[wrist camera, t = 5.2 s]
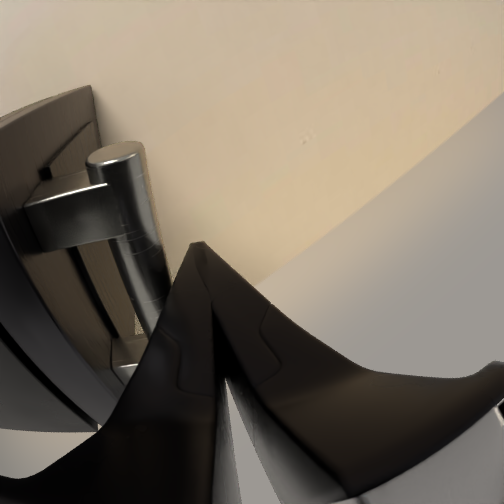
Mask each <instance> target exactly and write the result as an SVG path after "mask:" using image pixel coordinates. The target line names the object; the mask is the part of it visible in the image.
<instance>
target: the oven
mask: <svg viewBox="0 0 504 504" xmlns="http://www.w3.org/2000/svg"><path fill="white" fill-rule="evenodd" d="M52 97H53V96H52ZM49 98H51V97H49ZM49 98H46V99H49ZM46 99H43V100H41V101H38V102H36V103H33V104H30V105H28V106H25V107H23V108H21V109H18V110H16V111H14V112H11V113H9V114H7V115H5V116H2V117H0V122H2V121H4V120H5V119H7V118H9V117H11V116H13V115H15V114H17V113H19V112H21V111H23V110H25V109H27V108H29V107H31V106H33V105H35V104H37V103H40V102H42V101H44V100H46ZM0 428H3V429H12V430H23V431H24V430H25V431H38V432H39V431H40V432H97V431H98V423H97V422H96V421H94V420H93V419H92V418H91V417H90V416H88V415H87V414H86V413H85V412H84V411H83V410H81V409H80V408H79V407H78V406H77V405H76V404H75V403H74V402H72V401H71V400H70V399H69V398H68V397H67V396H66V395H65V394H64V393H63V392H62V391H61V390H60V389H59V388H58V387H57V386H56V385H55V384H53V383H52V382H51V380H50V379H49V378H48V377H47V376H46V375H45V374H44V373H43V372H42V371H41V370H40V369H39V368H38V367H37V366H36V365H35V364H34V363H33V361H32V360H31V359H30V358H29V357H28V356H27V355H26V354H25V352H24V351H23V350H22V349H21V348H20V347H19V345H18V344H17V343H16V342H15V341H14V339H13V338H12V337H11V336H10V334H9V333H8V332H7V331H6V329H5V328H4V327H3V325H2V324H1V323H0Z"/></svg>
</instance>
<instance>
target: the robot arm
mask: <svg viewBox="0 0 504 504" xmlns="http://www.w3.org/2000/svg"><path fill="white" fill-rule="evenodd" d="M225 379H226V381H227V384H228V386H229V389H230V391H231V394H232V396H233V399H234V401H235V404H236V406H237V409H238V411H239V413H240V416H241V418H242V421H243V423H244V425H245V427H246V430H247V432H248V434H249V437H250V439H251V441H252V443H253V446H254V447H255V450H256V453H257V455H258V457H259V459H260V461H261V463H262V466H263V468H264V469H265V472H266V474H267V476H268V478H269V480H270V482H271V484H272V486H273V489H274V491H275V493H276V494H277V497H278V499H279V501H280V503H281V504H504V400H503V401H502V402H501V403H500V404H499V405H498V406H497V404H498V403H499V402H500V401H501V400H502V399H503V398H504V362H500V361H492V362H491V363H489V364H488V365H487V366H485V367H484V368H483V369H481V370H480V371H479V372H477V373H475V374H473V375H470V376H467V377H462V378H435V377H423V376H412V375H401V374H392V373H383V372H376V371H373V370H369V369H366V368H364V367H362V366H360V365H357V364H356V363H354V362H352V361H350V360H349V359H347V358H346V357H344V356H343V355H341V354H340V353H338V352H337V351H335V350H333V349H332V348H331V347H329V346H327V345H326V344H324V343H323V342H321V341H320V340H318V339H316V338H315V337H314V336H312V335H311V334H309V333H308V332H307V331H305V330H304V329H303V328H301V327H300V326H298V325H297V324H296V323H294V322H293V321H292V320H291V319H289V318H288V317H287V316H286V315H284V314H283V313H282V312H281V311H280V310H279V309H278V308H276V307H275V306H274V305H273V304H271V302H270V301H268V300H267V299H266V298H265V297H264V296H263V295H262V294H261V293H260V292H258V291H257V290H256V289H255V288H254V287H253V286H252V285H251V284H250V283H248V282H247V281H246V280H245V279H244V278H243V277H242V276H241V275H240V274H238V273H237V272H236V271H235V270H234V269H233V268H232V267H231V266H230V265H229V264H227V263H226V262H225V261H224V260H223V259H222V258H221V257H220V256H219V255H218V254H217V253H215V252H214V251H213V250H212V249H211V248H210V247H209V246H208V245H207V244H206V243H205V242H204V241H201V242H196V243H191V244H190V245H189V249H188V251H187V253H186V255H185V257H184V260H183V262H182V264H181V266H180V269H179V271H178V273H177V275H176V278H175V280H174V282H173V285H172V287H171V289H170V291H169V294H168V296H167V298H166V301H165V303H164V306H163V308H162V310H161V313H160V315H159V318H158V320H157V322H156V326H155V327H154V329H153V332H152V334H151V337H150V339H149V342H148V344H147V346H146V348H145V351H144V353H143V355H142V357H141V359H140V361H139V363H138V365H137V367H136V369H135V371H134V372H133V374H132V376H131V378H130V380H129V382H128V383H127V385H126V387H125V389H124V391H123V393H122V395H121V396H120V398H119V400H118V402H117V404H116V406H115V408H114V410H113V412H112V413H111V415H110V417H109V418H108V420H107V421H106V423H105V424H104V425H103V426H102V427H101V428H100V429H99V430H98V431H97V432H96V433H95V434H94V435H92V436H91V437H90V438H88V439H87V440H86V441H84V442H83V443H81V444H80V445H79V446H77V447H76V448H74V449H73V450H71V451H70V452H69V453H67V454H66V455H65V456H63V457H61V458H60V459H59V460H57V461H56V462H54V463H53V464H51V465H50V466H48V467H47V468H45V469H44V470H43V471H41V472H39V473H37V474H35V475H32V476H30V477H27V478H21V479H14V478H9V477H5V476H1V475H0V504H242V503H241V496H240V490H239V483H238V476H237V469H236V462H235V455H234V448H233V440H232V433H231V425H230V417H229V408H228V400H227V391H226V382H225Z"/></svg>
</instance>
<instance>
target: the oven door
mask: <svg viewBox="0 0 504 504" xmlns="http://www.w3.org/2000/svg"><path fill="white" fill-rule="evenodd" d="M172 285H173V281H172V277H171V273H170V269H169V265H168V261H167V257H166V253H165V249H164V244H163V240H162V236H161V231H160V227H159V222H158V217H157V213H156V208H155V203H154V198H153V193H152V188H151V183H150V177H149V172H148V166H147V160H146V154H145V148H144V146H143V144H142V143H141V142H136V141H125V142H119V143H115V144H111V145H108V146H105V147H103V148H102V147H101V142H100V137H99V132H98V126H97V120H96V115H95V108H94V102H93V95H92V88H91V85H87V86H83V87H80V88H77V89H73V90H70V91H67V92H64V93H61V94H58V95H56V96H53V97H51V98H49V99H46V100H44V101H42V102H40V103H37V104H35V105H33V106H31V107H29V108H27V109H25V110H23V111H21V112H19V113H17V114H15V115H13V116H11V117H9V118H7V119H5V120H4V121H2V122H0V323H1V324H2V325H3V327H4V328H5V329H6V331H7V332H8V333H9V334H10V336H11V337H12V338H13V339H14V341H15V342H16V343H17V344H18V345H19V347H20V348H21V349H22V350H23V351H24V352H25V354H26V355H27V356H28V357H29V358H30V359H31V360H32V361H33V363H34V364H35V365H36V366H37V367H38V368H39V369H40V370H41V371H42V372H43V373H44V374H45V375H46V376H47V377H48V378H49V379H50V380H51V382H52V383H53V384H55V385H56V386H57V387H58V388H59V389H60V390H61V391H62V392H63V393H64V394H65V395H66V396H67V397H68V398H69V399H70V400H71V401H72V402H74V403H75V404H76V405H77V406H78V407H79V408H80V409H81V410H83V411H84V412H85V413H86V414H87V415H88V416H90V417H91V418H92V419H93V420H94V421H96V422H97V423H98V424H100V425H101V426H103V425H104V424H105V423H106V421H107V420H108V418H109V417H110V415H111V413H112V412H113V410H114V408H115V406H116V404H117V402H118V400H119V398H120V396H121V395H122V393H123V391H124V389H125V387H126V385H127V383H128V382H129V380H130V378H131V376H132V374H133V372H134V371H135V369H136V367H137V365H138V363H139V361H140V359H141V357H142V355H143V353H144V351H145V348H146V346H147V344H148V342H149V339H150V337H151V334H152V332H153V329H154V327H155V326H156V322H157V320H158V318H159V315H160V313H161V310H162V308H163V306H164V303H165V301H166V298H167V296H168V294H169V291H170V289H171V287H172ZM135 313H136V315H137V317H138V320H139V322H140V324H141V326H142V328H143V331H144V334H138V335H135Z"/></svg>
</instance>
